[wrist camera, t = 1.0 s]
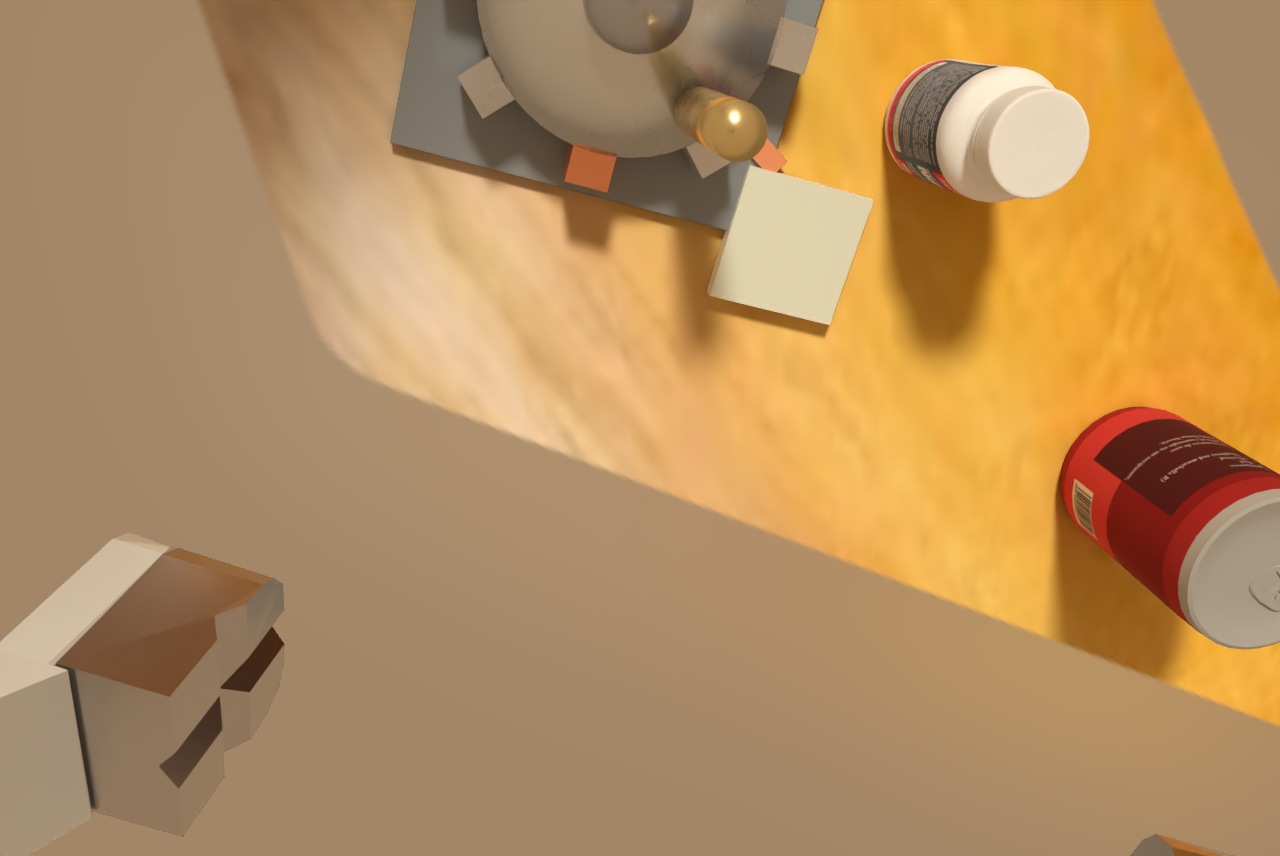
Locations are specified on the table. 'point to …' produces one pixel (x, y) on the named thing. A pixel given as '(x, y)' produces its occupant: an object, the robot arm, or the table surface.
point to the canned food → (1182, 520)
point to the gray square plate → (521, 146)
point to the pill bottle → (986, 130)
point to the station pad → (789, 245)
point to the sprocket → (637, 76)
